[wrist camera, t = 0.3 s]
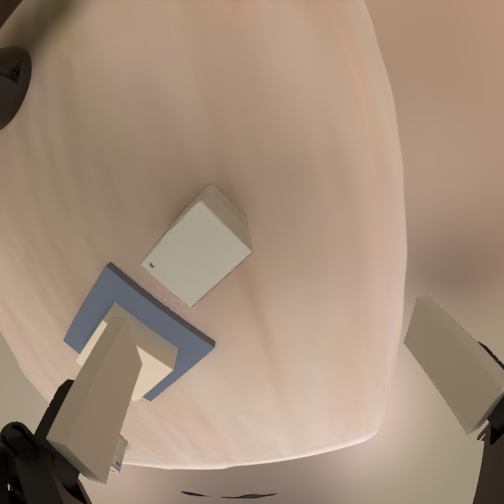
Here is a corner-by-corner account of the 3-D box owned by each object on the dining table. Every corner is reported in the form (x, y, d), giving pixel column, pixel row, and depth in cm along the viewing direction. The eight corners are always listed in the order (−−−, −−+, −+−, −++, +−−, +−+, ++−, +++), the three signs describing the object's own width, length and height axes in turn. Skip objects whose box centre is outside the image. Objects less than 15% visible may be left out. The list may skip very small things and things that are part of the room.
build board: (66, 335, 41) (51, 357, 34) (110, 262, 36) (91, 281, 30) (151, 395, 46) (145, 420, 40) (215, 341, 42) (212, 370, 36)
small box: (204, 258, 37) (189, 310, 25) (169, 225, 35) (136, 265, 23) (248, 216, 35) (254, 252, 23) (212, 181, 33) (198, 197, 21)
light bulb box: (86, 418, 50) (74, 449, 40) (105, 419, 50) (93, 453, 40) (109, 440, 54) (100, 471, 44) (128, 442, 53) (120, 474, 43)
